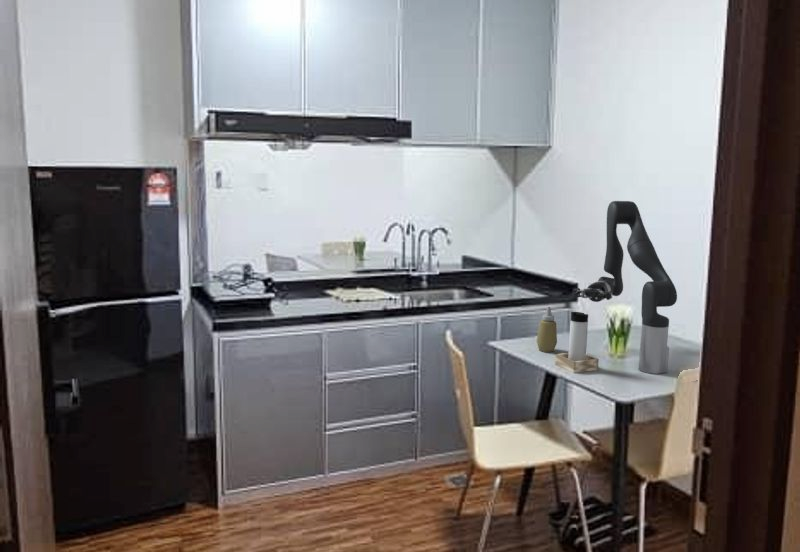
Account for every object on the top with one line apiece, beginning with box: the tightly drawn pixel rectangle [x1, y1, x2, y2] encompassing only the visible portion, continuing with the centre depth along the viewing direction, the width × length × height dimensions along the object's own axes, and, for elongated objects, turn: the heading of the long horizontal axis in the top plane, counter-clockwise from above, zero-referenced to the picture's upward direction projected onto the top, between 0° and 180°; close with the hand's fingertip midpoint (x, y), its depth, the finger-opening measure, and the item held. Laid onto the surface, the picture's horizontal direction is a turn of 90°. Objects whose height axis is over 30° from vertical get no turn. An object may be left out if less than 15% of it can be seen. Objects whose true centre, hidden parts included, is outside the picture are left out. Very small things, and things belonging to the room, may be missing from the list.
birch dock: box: [554, 352, 599, 374], centre depth 256 cm, size 11×11×4 cm
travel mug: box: [568, 311, 589, 361], centre depth 255 cm, size 6×7×20 cm
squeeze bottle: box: [536, 306, 558, 353], centre depth 278 cm, size 8×8×18 cm
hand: (587, 296), depth 259 cm, fingers open, 8 cm apart
